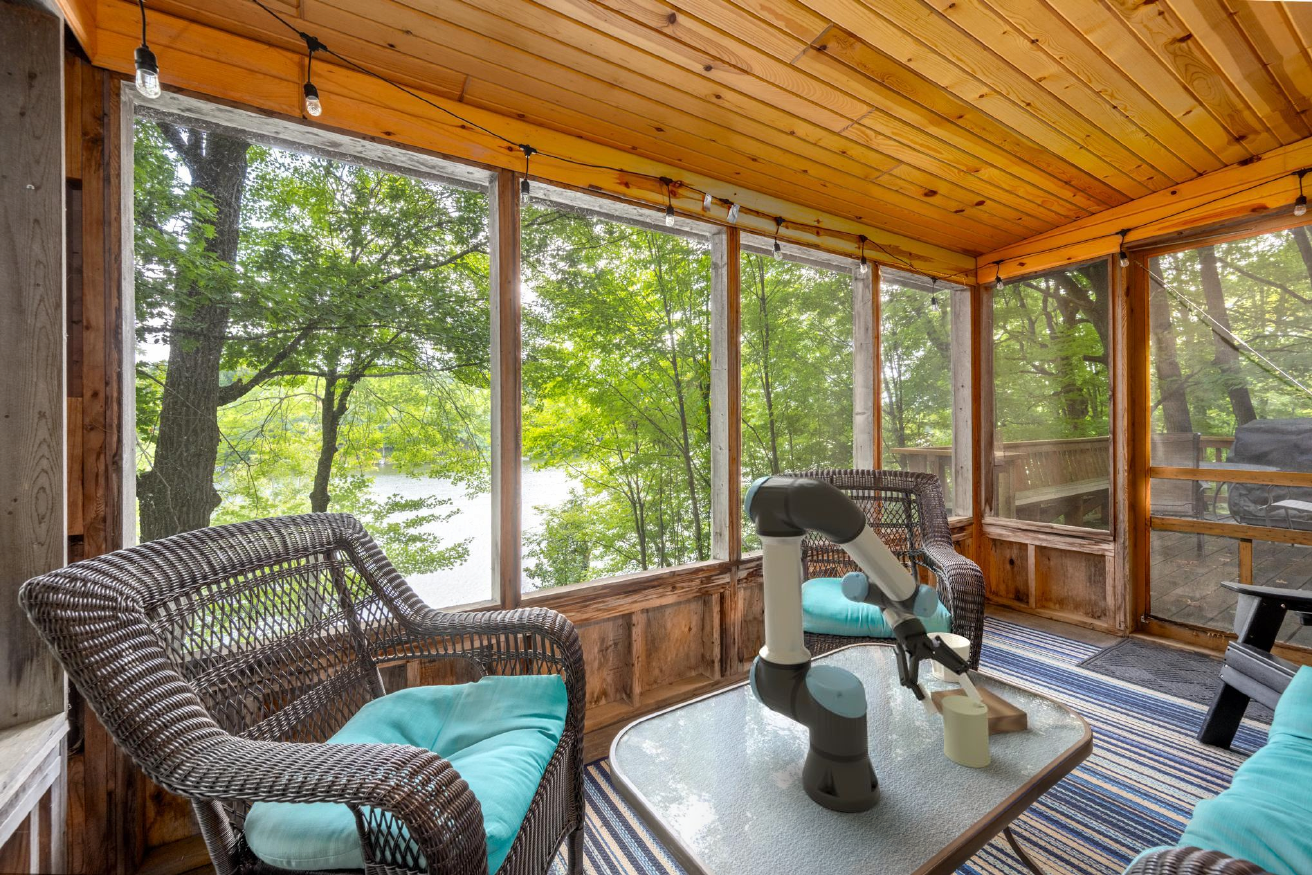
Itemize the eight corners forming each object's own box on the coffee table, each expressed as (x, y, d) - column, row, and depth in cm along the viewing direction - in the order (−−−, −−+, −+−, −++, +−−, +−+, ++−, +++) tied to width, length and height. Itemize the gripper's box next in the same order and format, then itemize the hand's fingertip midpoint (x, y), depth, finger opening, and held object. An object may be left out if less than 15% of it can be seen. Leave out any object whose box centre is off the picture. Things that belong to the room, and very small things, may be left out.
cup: (922, 665, 169) (920, 630, 169) (967, 669, 165) (965, 633, 165) (928, 683, 157) (926, 645, 157) (976, 687, 153) (974, 648, 153)
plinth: (972, 736, 129) (971, 719, 129) (931, 706, 143) (930, 691, 144) (1027, 729, 131) (1026, 713, 131) (982, 700, 146) (981, 686, 146)
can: (997, 769, 116) (995, 713, 116) (951, 766, 118) (948, 711, 118) (981, 745, 125) (978, 693, 125) (938, 742, 127) (935, 691, 127)
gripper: (934, 623, 146) (986, 703, 132) (859, 637, 138) (905, 724, 124) (949, 609, 141) (1005, 691, 127) (872, 623, 133) (923, 712, 119)
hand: (956, 708), depth 125 cm, fingers open, 13 cm apart
